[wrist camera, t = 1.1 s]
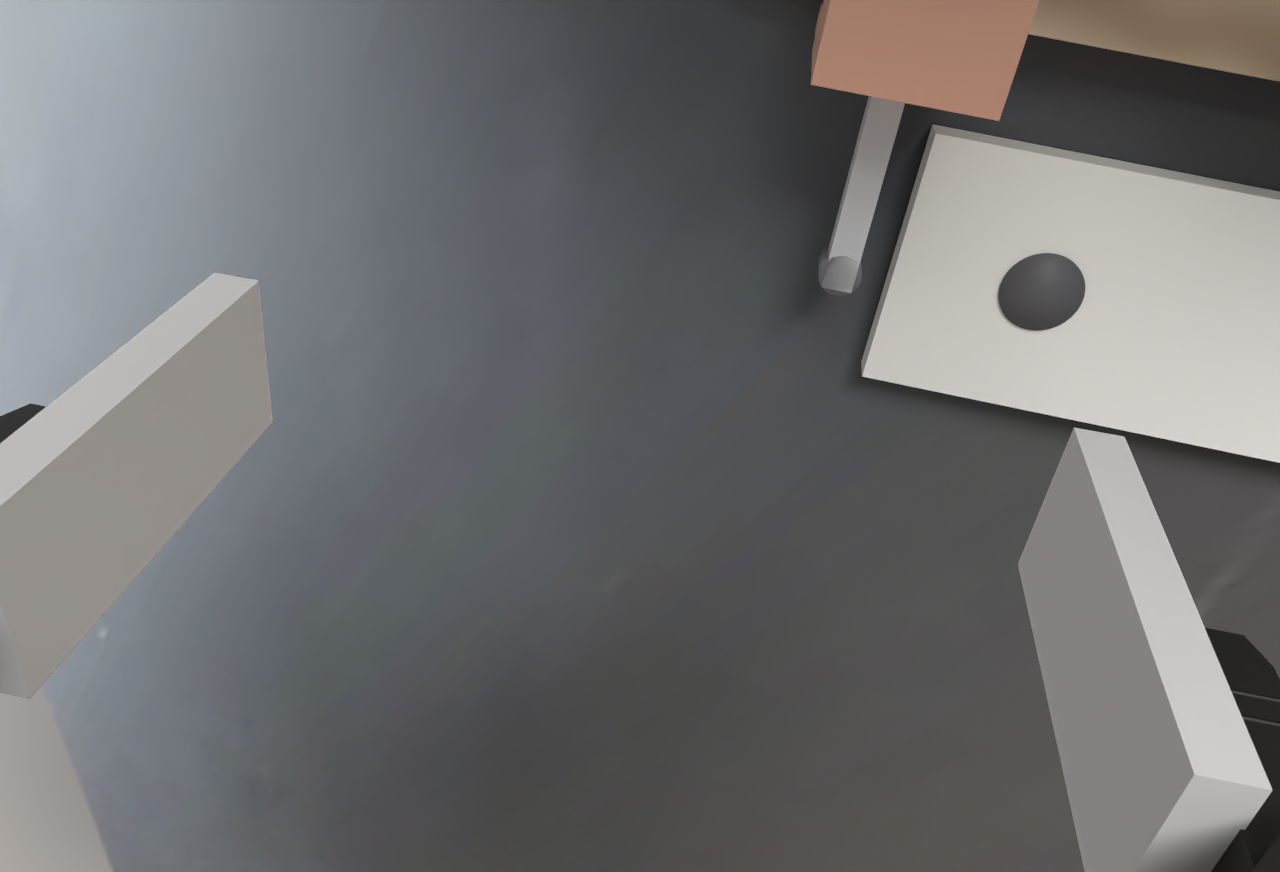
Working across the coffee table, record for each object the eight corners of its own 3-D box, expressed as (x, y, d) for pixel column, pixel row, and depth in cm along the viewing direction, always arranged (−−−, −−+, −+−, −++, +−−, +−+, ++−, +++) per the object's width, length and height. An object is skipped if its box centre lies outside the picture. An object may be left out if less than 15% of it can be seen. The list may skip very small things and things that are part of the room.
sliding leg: (862, -177, 30) (871, -177, 24) (1036, -146, 30) (1085, -138, 24) (764, 251, 37) (753, 328, 31) (904, 280, 37) (918, 362, 31)
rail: (777, -192, 31) (766, -196, 25) (1793, -9, 29) (2049, 36, 23) (697, 230, 38) (672, 310, 31) (1515, 395, 36) (1656, 512, 30)
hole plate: (932, 124, 35) (936, 134, 33) (1611, 255, 33) (1638, 271, 32) (861, 361, 39) (862, 377, 38) (1454, 484, 38) (1473, 504, 37)
